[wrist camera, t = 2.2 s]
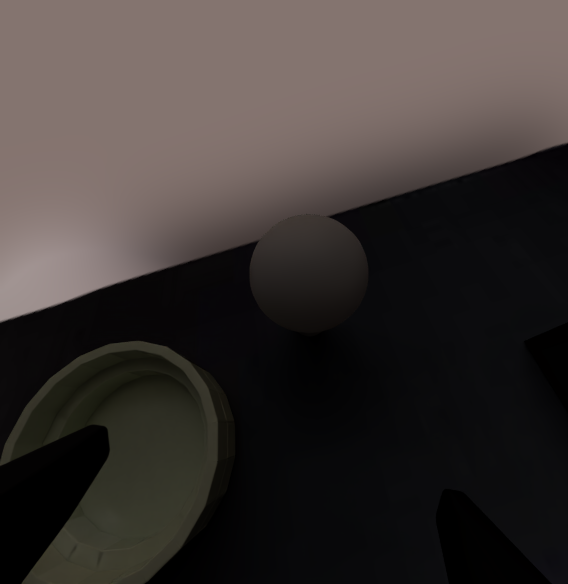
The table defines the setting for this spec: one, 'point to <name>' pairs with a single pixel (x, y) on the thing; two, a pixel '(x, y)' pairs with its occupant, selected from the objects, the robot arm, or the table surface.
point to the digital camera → (553, 358)
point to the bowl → (132, 460)
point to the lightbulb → (308, 273)
